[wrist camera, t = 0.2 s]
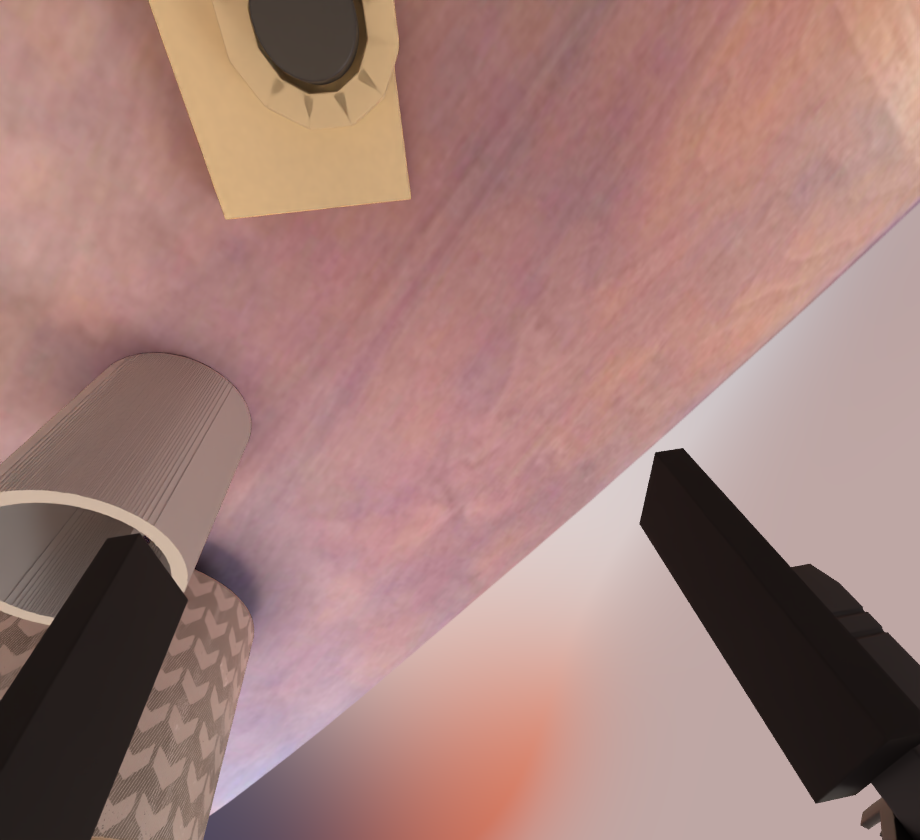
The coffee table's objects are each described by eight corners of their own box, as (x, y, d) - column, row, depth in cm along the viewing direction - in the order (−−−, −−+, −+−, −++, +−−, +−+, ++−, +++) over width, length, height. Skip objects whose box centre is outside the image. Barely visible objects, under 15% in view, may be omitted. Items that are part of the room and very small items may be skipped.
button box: (144, -64, 17) (89, -106, 14) (380, -80, 18) (379, -123, 15) (237, 212, 23) (213, 227, 20) (413, 193, 24) (418, 204, 21)
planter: (291, 552, 38) (231, 836, 23) (230, 668, 46) (156, 933, 31) (13, 488, 30) (-342, 842, 16) (-2, 639, 39) (-243, 967, 24)
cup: (189, 330, 26) (73, 457, 16) (278, 442, 31) (229, 590, 21) (57, 386, 27) (-130, 540, 17) (165, 486, 32) (68, 649, 22)
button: (245, -37, 16) (232, -53, 14) (347, -45, 16) (344, -61, 15) (277, 89, 18) (268, 86, 16) (367, 80, 18) (366, 77, 17)
